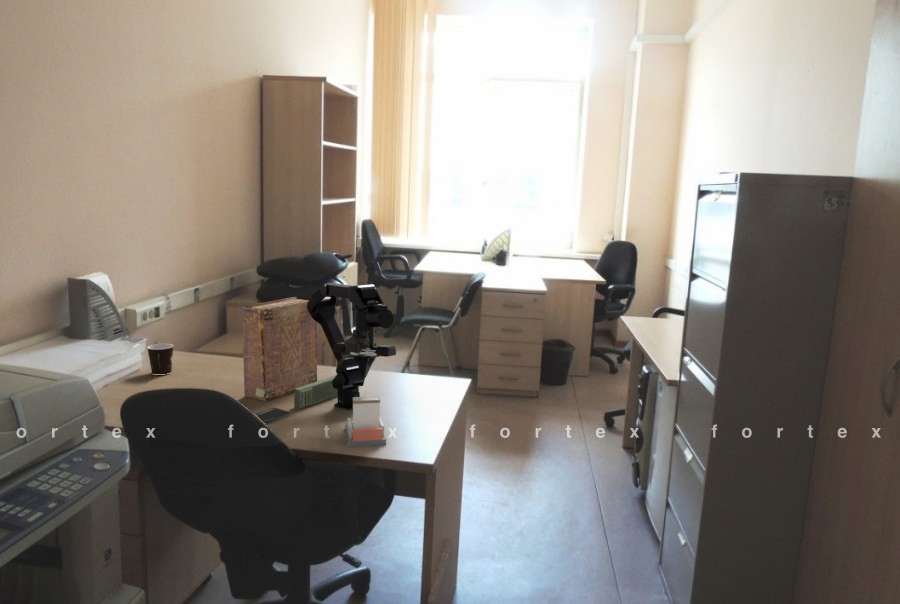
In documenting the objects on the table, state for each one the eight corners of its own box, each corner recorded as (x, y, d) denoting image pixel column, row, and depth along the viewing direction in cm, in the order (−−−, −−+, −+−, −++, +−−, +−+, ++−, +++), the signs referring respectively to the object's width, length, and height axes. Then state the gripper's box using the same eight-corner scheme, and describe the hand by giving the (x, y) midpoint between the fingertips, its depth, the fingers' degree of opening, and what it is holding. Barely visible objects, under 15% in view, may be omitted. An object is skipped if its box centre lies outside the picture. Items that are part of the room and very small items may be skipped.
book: (297, 378, 230) (296, 296, 225) (317, 382, 226) (316, 299, 221) (244, 396, 208) (241, 306, 203) (265, 402, 204) (263, 310, 199)
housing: (345, 428, 184) (345, 413, 183) (379, 426, 186) (380, 411, 185) (348, 446, 171) (348, 430, 170) (386, 444, 173) (386, 428, 172)
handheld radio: (292, 408, 200) (346, 388, 221) (299, 410, 198) (353, 391, 219) (292, 387, 199) (347, 370, 219) (300, 390, 197) (354, 372, 218)
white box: (352, 431, 176) (352, 397, 175) (378, 430, 178) (378, 396, 176) (353, 436, 173) (353, 401, 172) (379, 434, 175) (380, 399, 173)
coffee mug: (157, 369, 236) (156, 343, 234) (179, 370, 235) (178, 344, 233) (138, 378, 225) (136, 350, 223) (161, 379, 223) (159, 352, 222)
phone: (233, 420, 185) (274, 407, 197) (234, 424, 185) (274, 410, 197) (251, 426, 181) (292, 412, 193) (251, 430, 181) (292, 416, 193)
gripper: (323, 326, 187) (322, 378, 188) (379, 329, 180) (378, 384, 181) (343, 324, 198) (342, 374, 198) (397, 327, 191) (396, 379, 191)
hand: (363, 377), depth 192 cm, fingers closed
